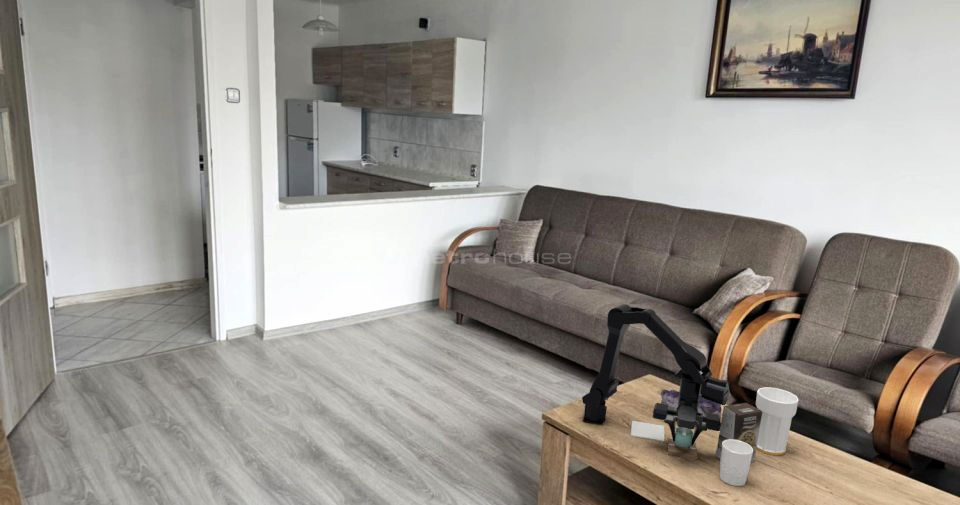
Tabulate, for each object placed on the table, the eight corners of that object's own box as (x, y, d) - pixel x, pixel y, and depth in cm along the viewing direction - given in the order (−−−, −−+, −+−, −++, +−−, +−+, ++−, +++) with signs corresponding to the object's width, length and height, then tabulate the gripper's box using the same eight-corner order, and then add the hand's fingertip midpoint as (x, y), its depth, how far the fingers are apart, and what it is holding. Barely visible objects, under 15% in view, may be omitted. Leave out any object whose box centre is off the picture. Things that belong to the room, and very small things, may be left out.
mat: (630, 436, 195) (630, 434, 195) (631, 421, 204) (632, 420, 204) (664, 441, 192) (664, 440, 192) (663, 427, 202) (663, 426, 202)
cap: (691, 449, 183) (693, 434, 182) (673, 446, 185) (675, 431, 184) (691, 440, 188) (693, 426, 187) (675, 437, 190) (676, 423, 189)
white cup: (750, 489, 169) (756, 455, 167) (719, 485, 170) (724, 451, 168) (744, 474, 177) (749, 441, 175) (715, 469, 178) (720, 437, 176)
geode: (722, 418, 210) (727, 392, 207) (718, 437, 201) (723, 410, 197) (660, 402, 219) (664, 377, 215) (653, 419, 209) (657, 393, 205)
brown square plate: (668, 455, 184) (669, 447, 184) (667, 442, 192) (668, 434, 191) (696, 460, 182) (697, 452, 182) (695, 447, 190) (696, 439, 189)
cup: (789, 444, 195) (798, 392, 191) (789, 461, 185) (799, 406, 181) (749, 435, 199) (757, 384, 196) (748, 451, 189) (756, 397, 186)
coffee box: (730, 467, 180) (738, 415, 176) (714, 455, 186) (722, 405, 182) (755, 462, 183) (763, 411, 180) (738, 451, 189) (746, 401, 186)
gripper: (654, 398, 179) (647, 448, 182) (723, 412, 173) (716, 463, 176) (657, 384, 189) (651, 431, 193) (723, 396, 183) (716, 445, 186)
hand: (682, 443), depth 187 cm, fingers closed on cap, 5 cm apart
